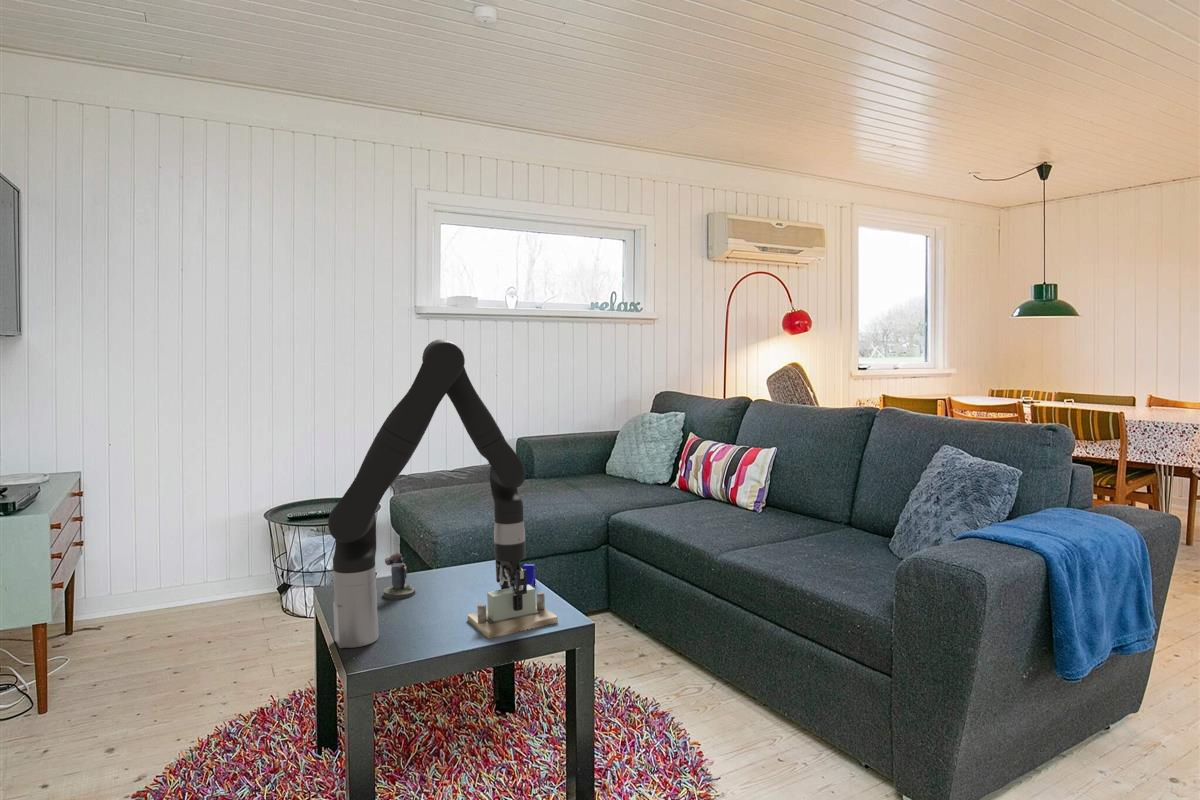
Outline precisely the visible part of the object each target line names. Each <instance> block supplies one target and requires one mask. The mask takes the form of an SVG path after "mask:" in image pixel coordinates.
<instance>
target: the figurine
mask: <svg viewBox="0 0 1200 800" xmlns="http://www.w3.org/2000/svg"><path fill="white" fill-rule="evenodd" d="M405 558H406V557H403V555H402V553H399V552H395V553H393V554H391V556H389V557H386V558H385V559H384V563H385V565H387V566H391V570H390V572H391V586H388V587H386V588H384V589H383V598H384V599H387V598H388V599H387V600H402V598H404V599H408V598H411V597H412V595H413V596H414V595H416V587H414V586H413V585H411V584H406V579H407V577H408V574H407V569H408V567H407V566H406V563H404V562H406V561H405ZM410 596H411V597H410ZM407 597H408V598H407Z"/></svg>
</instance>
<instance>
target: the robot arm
mask: <svg viewBox="0 0 1200 800" xmlns="http://www.w3.org/2000/svg"><path fill="white" fill-rule="evenodd" d="M421 357H422V363H421V364H420V365H421V366H420V368H419V369H418V371H417V374H416V376H415V378H414V380H413V383H412V384H411V386H410V388H409V389H408V391H407V392H406V394H405V395H404V396H403V397H402V399H401V400H400V401H399V402H398V403H397V404H396V406H395V407H394V408H393V409H392V410H391V412H390V413H389V414H388V415H387V418H385V420H384V422H383V423H382V425H381V427H380V428H379V430H378V432H377V434H376V436H375V437H374V439H373V441H372V442H371V445H370V446H369V448H368V450H367V453H366V454H365V456H364V459H363V461H362V463H361V465H360V467H359V469H358V472H357V474H356V476H355V477H354V479H353V481H352V483H351V484H350V485H349V488H348V489H346V492H345V493H344V494H343V496H342V497H341V498H340V500H339V501H338V502H337V504H336V505H335V506H334V507H333V508H332V509H331V512H330V513H329V516H328V520H327V526H328V531H329V533H330V535H331V537H332V538H333V539H335V547H334V552H333V553H334V554H333V557H332V570H333V587H334V589H333V591H334V592H333V593H334V599H333V601H332V606H333V607H332V608H333V610H332V611H333V630H334V631H333V632H334V641H335V643H336V645H337V646H338V648H339V649H345V648H348V649H349V648H351V649H352V648H353V649H354V648H361V647H364V646H365V647H366V646H369V645H371V644H373V643H375V642H376V641H377V640H378V639H379V618H378V598H377V576H376V575H377V573H376V555H377V554H376V553H377V519H376V510H377V508H378V506H379V504H380V502H381V500H382V498H383V497H384V495H385V493H386V492H387V491H388V489H389V488H390V486H391V485H392V484H393V483H394V481H395V480H396V479H397V478H398V476H399V475H400V474H401V473H402V471H403V470H404V468H405V467H406V465H407V464H408V463H409V461H410V460H411V458H412V457H413V455H414V453H415V451H416V450H417V448H418V446H419V444H420V443H421V442H422V441H421V440H422V438H423V437H424V435H425V433H426V431H427V429H428V427H429V425H430V424H431V421H432V419H433V417H434V415H435V413H436V411H437V408H438V407H439V405H440V403H441V401H442V400H443V399H444V397H445V396H446V395H447V397H448V398H449V400H450V401H451V403H452V405H453V406H454V408H455V411H456V412H457V414H458V416H459V418H460V420H461V423H462V425H463V426H464V428H465V430H466V432H467V435H468V436H469V437H470V439H471V442H472V443H473V444H474V447H475V448H476V449H477V451H478V453H479V454H480V456H482V457H483V458H485V459H486V460H487V462H488V463H489V466H490V468H489V484H490V489H491V494H492V495H491V496H492V498H493V503H494V507H493V508H494V509H493V511H494V529H493V543H494V544H493V545H494V547H493V548H494V559H495V561H494V562H495V576H496V578H495V579H496V583H498V585H499V587H500V590H502V589H507V588H511V589H512V593H513V610H515V611H519V610H522V609H523V600H522V595H523V594H527V571H526V569H524V570H523V569H522V566H521V561H523V560H524V559H525V558H526V555H527V553H526V529H525V523H524V522H525V521H524V505H523V503H524V502H523V500H522V497H521V496H520V495H519V492H518V488H520V487H521V486H522V485H523V484H524V482H525V479H526V475H527V474H526V473H527V472H526V468H525V466H524V463H523V462H522V460H521V458H520V457H519V456H518V454H517V453H516V452H515V450H514V449H513V448H512V447H511V445H510V444H509V443H508V442H507V440H506V438H505V436H504V434H503V432H502V431H501V429H500V427H499V425H498V424H497V421H496V420H495V419H494V417H493V415H492V413H491V412H490V410H489V408H488V407H487V406H486V404H485V403H484V402H483V400H482V399H481V397H480V395H479V394H478V393H477V391H476V388H474V386H473V383H472V382H471V380H470V378H469V375H468V373H467V370H466V367H465V363H466V362H465V361H466V360H465V359H466V358H465V355H464V352H463V351H462V349H461V348H460V347H459V346H458V345H457V344H456V343H454V342H453V341H450V340H448V339H435V340H433V341H431V342H430V343H429V344H428V345H426V347H425V348H424V350H423V353H422V356H421ZM514 581H515V582H514ZM522 585H523V586H522Z"/></svg>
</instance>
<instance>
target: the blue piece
mask: <svg viewBox="0 0 1200 800" xmlns="http://www.w3.org/2000/svg"><path fill="white" fill-rule="evenodd" d="M522 566H523V569H522V570H524V569H526V571H527V585H530V586H532V587H533V588H535V586H536V585H535V584H537V583H536V564H535V563H533V564H532V563H524V565H522ZM514 582H515V581H514ZM522 586H523V585H522Z"/></svg>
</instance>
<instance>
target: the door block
mask: <svg viewBox="0 0 1200 800" xmlns="http://www.w3.org/2000/svg"><path fill="white" fill-rule="evenodd" d="M486 597H487V598H486V599H487V600H486V601H487V610H488V617H489V618H490V619H492V620H493V621H498V620H503V619H508V618H512V617H517V616H522V615H527V614H532V613H536V603H537V598H536V588H535V587H532V586H530V585H527V594H523V595H522V600H523V609H522V610H519V611H515V610H513V593H512V589H511V587H510V588H507V589H502V590H501V589H496V590H492V591H487V593H486Z"/></svg>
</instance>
